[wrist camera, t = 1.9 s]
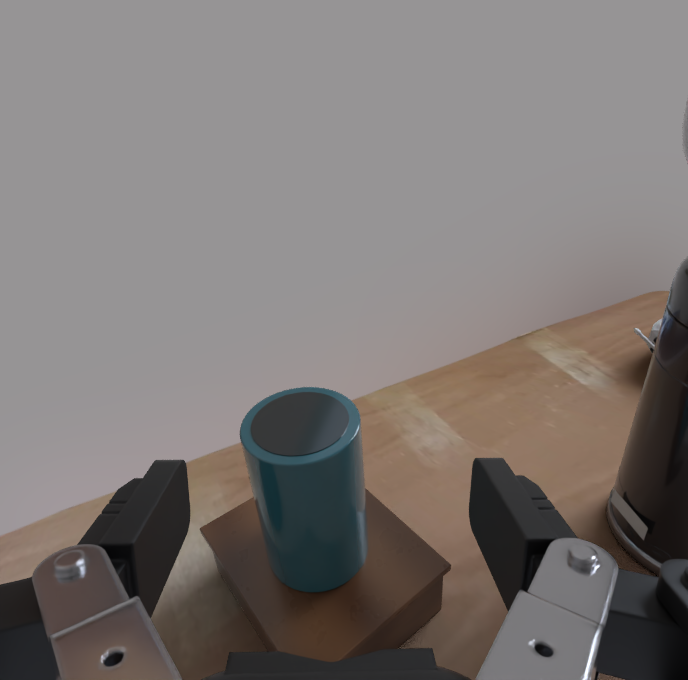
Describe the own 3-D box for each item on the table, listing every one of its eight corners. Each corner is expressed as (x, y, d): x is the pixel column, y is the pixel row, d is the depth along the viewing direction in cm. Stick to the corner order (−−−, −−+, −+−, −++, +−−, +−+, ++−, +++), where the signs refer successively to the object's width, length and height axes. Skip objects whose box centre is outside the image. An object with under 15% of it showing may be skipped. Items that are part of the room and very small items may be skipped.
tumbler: (329, 490, 35) (315, 373, 30) (389, 550, 30) (385, 423, 25) (249, 540, 32) (218, 418, 27) (303, 615, 27) (279, 485, 22)
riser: (331, 494, 40) (327, 453, 38) (448, 609, 32) (451, 564, 29) (212, 570, 35) (199, 528, 33) (312, 734, 26) (303, 691, 24)
